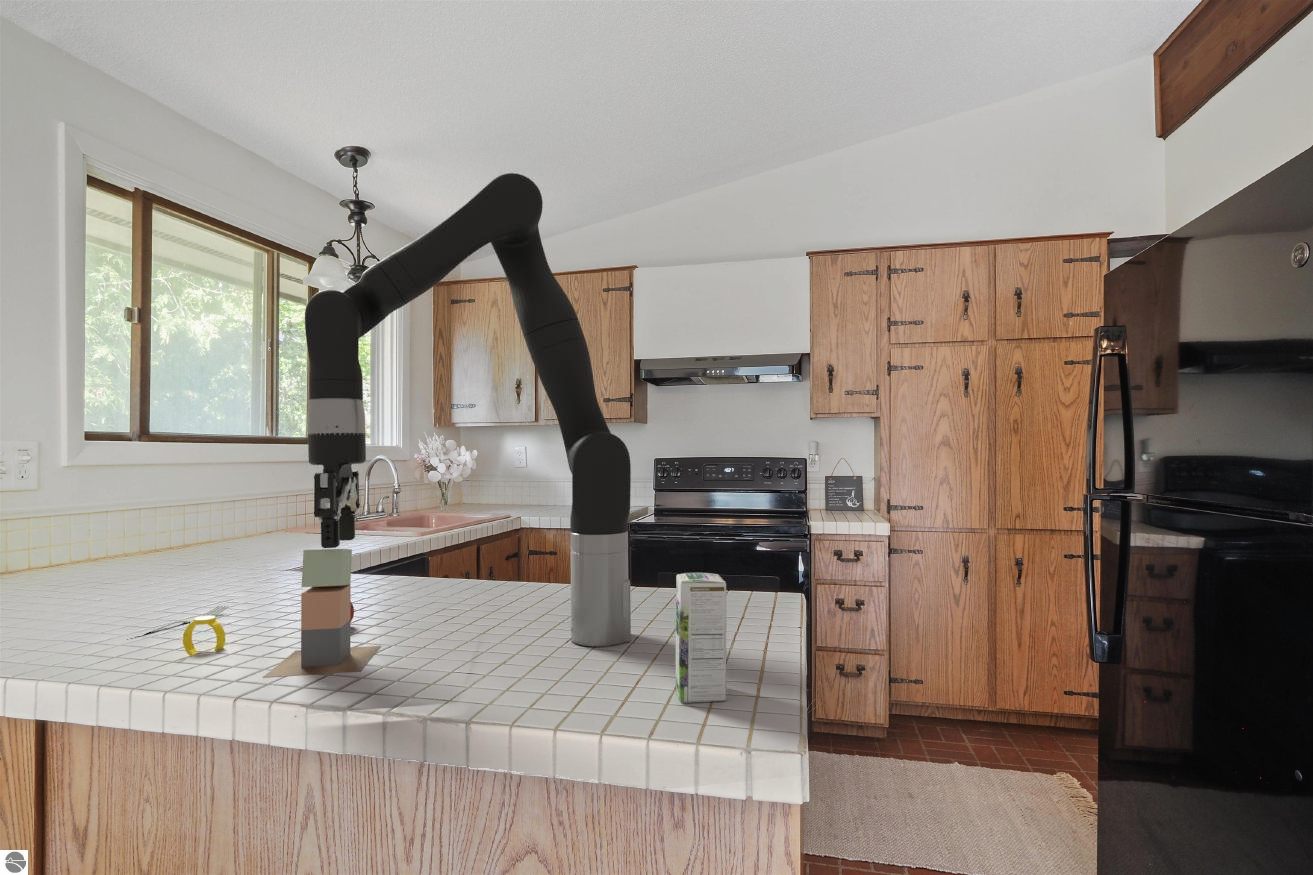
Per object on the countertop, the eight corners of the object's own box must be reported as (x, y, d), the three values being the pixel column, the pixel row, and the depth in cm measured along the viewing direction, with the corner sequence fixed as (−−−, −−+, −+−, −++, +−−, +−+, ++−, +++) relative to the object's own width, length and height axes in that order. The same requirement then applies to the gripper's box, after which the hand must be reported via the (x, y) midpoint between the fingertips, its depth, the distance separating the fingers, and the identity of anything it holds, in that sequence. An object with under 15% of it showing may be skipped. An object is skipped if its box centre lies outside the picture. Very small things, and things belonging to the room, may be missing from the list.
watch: (228, 656, 101) (231, 617, 101) (213, 662, 98) (216, 621, 98) (192, 652, 102) (195, 613, 102) (177, 658, 99) (180, 617, 99)
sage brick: (350, 584, 97) (351, 549, 98) (340, 585, 92) (342, 548, 93) (313, 585, 96) (315, 550, 97) (301, 587, 91) (303, 549, 92)
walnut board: (381, 653, 101) (381, 645, 101) (360, 680, 89) (360, 671, 89) (295, 658, 99) (295, 650, 99) (262, 686, 87) (262, 677, 87)
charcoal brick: (350, 653, 97) (350, 619, 97) (340, 664, 92) (340, 627, 92) (313, 656, 96) (313, 620, 96) (301, 666, 91) (301, 629, 91)
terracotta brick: (350, 619, 97) (350, 584, 97) (340, 627, 92) (340, 591, 92) (313, 620, 96) (313, 585, 96) (301, 629, 91) (301, 593, 91)
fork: (82, 651, 105) (82, 639, 105) (217, 614, 129) (217, 604, 129) (98, 652, 104) (98, 640, 104) (231, 614, 128) (231, 605, 128)
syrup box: (674, 687, 85) (673, 572, 86) (720, 685, 86) (719, 571, 86) (679, 703, 79) (678, 581, 80) (729, 701, 80) (727, 580, 80)
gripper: (352, 429, 91) (354, 549, 90) (375, 432, 105) (377, 536, 104) (292, 430, 89) (294, 552, 89) (323, 433, 103) (325, 538, 103)
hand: (339, 543), depth 97 cm, fingers open, 8 cm apart
